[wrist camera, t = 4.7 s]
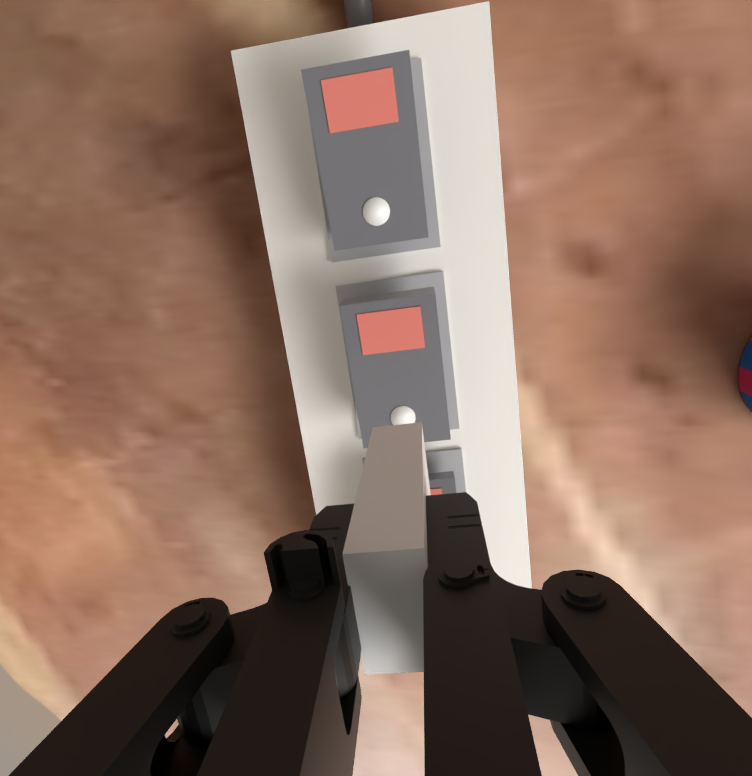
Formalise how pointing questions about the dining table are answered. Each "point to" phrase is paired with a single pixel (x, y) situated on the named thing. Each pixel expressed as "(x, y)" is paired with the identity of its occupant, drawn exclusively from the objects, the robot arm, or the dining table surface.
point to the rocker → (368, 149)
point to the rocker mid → (396, 361)
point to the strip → (398, 257)
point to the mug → (746, 374)
